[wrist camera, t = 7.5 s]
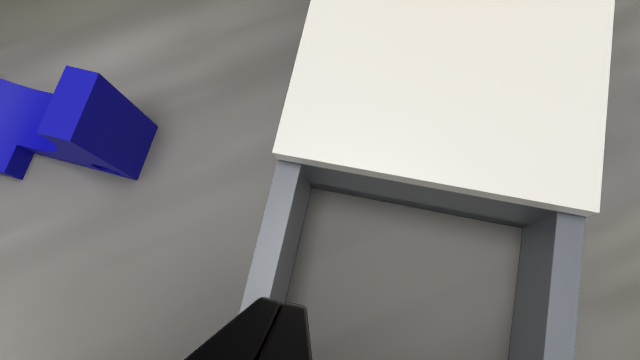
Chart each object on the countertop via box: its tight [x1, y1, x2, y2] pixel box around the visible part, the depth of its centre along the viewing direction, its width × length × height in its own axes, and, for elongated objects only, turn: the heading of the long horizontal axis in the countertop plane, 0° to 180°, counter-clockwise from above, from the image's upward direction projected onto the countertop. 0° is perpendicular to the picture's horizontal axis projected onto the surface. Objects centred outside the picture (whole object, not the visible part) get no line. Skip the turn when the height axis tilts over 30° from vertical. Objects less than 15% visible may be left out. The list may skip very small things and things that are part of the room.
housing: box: [239, 159, 585, 360], centre depth 21 cm, size 22×12×4 cm, turn 168°
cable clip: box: [0, 66, 158, 180], centre depth 22 cm, size 12×4×6 cm, turn 74°
